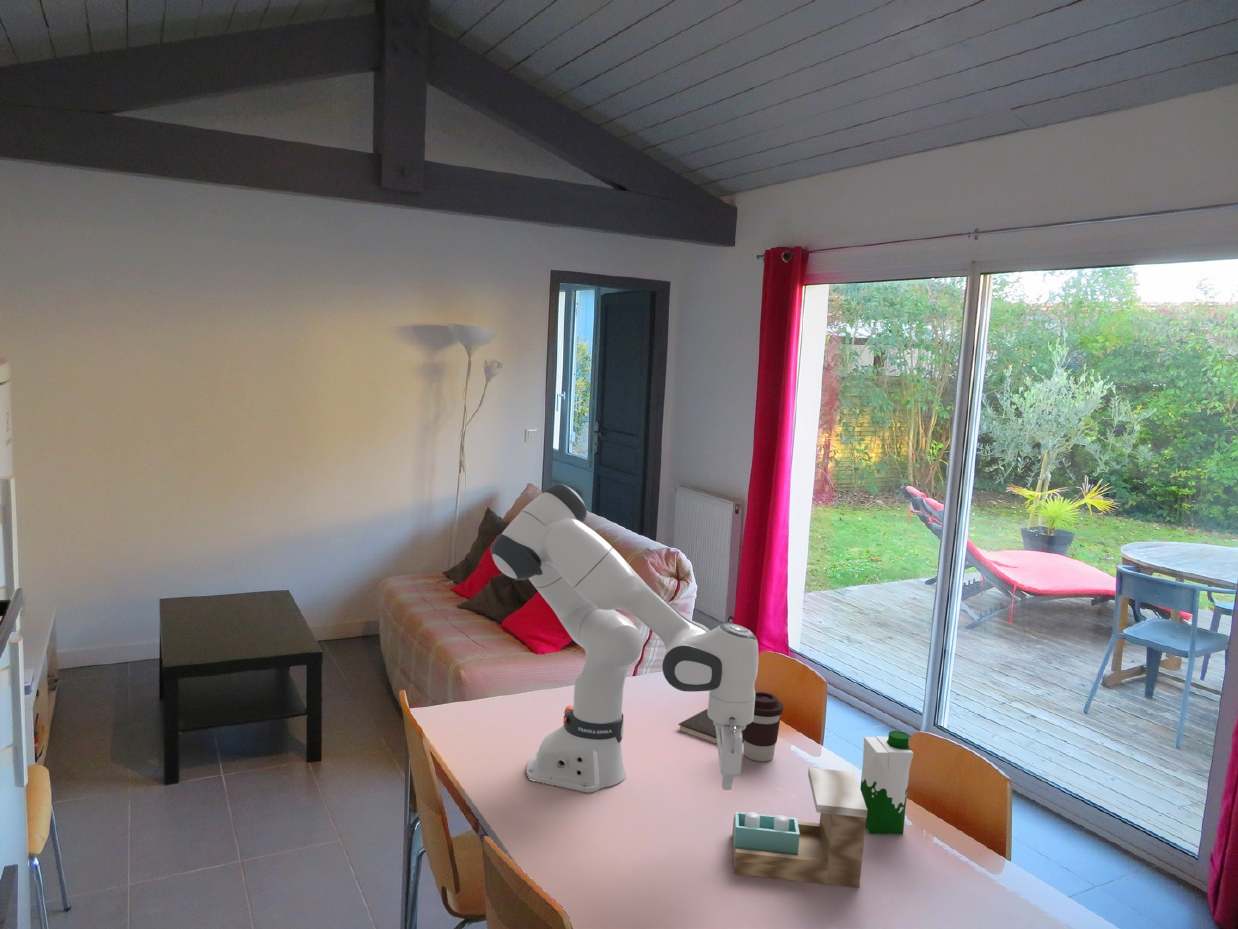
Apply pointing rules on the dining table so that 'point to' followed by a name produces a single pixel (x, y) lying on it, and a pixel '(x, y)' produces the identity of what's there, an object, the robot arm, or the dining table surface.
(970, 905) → the dining table surface
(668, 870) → the dining table surface
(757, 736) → the coffee cup
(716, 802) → the dining table surface
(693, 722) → the hardcover book
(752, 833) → the tray
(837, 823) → the counter
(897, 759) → the milk carton
